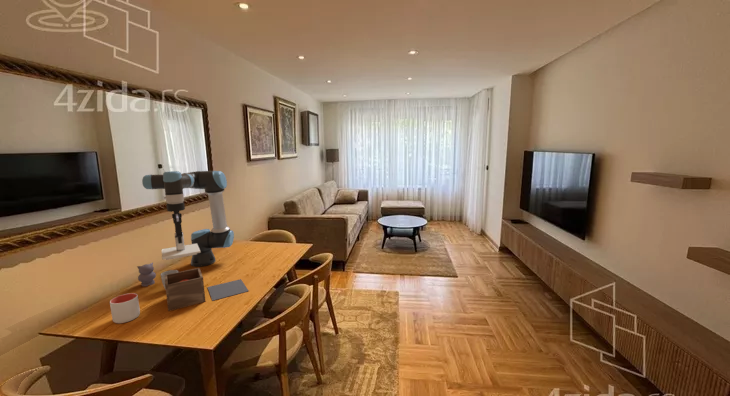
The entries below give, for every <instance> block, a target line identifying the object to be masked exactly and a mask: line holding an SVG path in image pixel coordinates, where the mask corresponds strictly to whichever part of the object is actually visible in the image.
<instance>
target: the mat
mask: <svg viewBox="0 0 730 396" xmlns="http://www.w3.org/2000/svg"><path fill="white" fill-rule="evenodd" d="M206 288H207V290H208V293H209V295H210V297H211V298H210V299H211V301H212V302H213V301H217V300H221V299H225V298H230V297H232V296H236V295H240V294H244V293H247V292H250V290H249V289H248V288H247V286H246V285H245V283H244V282H243V279H241V278H240V279H236V280H231V281H227V282H224V283H219V284H214V285H210V286H207V287H206Z"/></svg>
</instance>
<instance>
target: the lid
mask: <svg viewBox="0 0 730 396" xmlns="http://www.w3.org/2000/svg"><path fill="white" fill-rule="evenodd" d="M182 234H183V235H184V232H183V231H182ZM175 236H176V232H175V233H174V240H175V246H172V247H168V248H167V247H166V248H162V249H161V259H162V260H163V261H164V260H165V261H167V260H174V259H178V258H179V259H180V258H184V257H190V256H192V255H196V254H197V253H201V252H200V249H199V247H198V244H197V243H196V244H192V243H191V244H185V238H184V236H183V244H184V249H180V250H178V249H177V240H176V238H175Z"/></svg>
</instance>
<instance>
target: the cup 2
mask: <svg viewBox="0 0 730 396" xmlns="http://www.w3.org/2000/svg"><path fill="white" fill-rule="evenodd" d="M177 272H179V270H177V269H169V270H165V271H162V272H161V273H160V278H161V279H160V280H161V283H162V285H163V288H164V290H165V291H166V288H165V275H167V274H172V273H177Z"/></svg>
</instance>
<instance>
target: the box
mask: <svg viewBox="0 0 730 396" xmlns="http://www.w3.org/2000/svg"><path fill="white" fill-rule="evenodd" d="M186 279H187V280H186ZM182 280H186V281H182ZM180 281H182V282H180ZM165 288H166V290H165V294H166V295H165V297H166V304H167V311H168V312H171V311H174V310H179V309H182V308H187V307H190V306H193V305H198V304H201V303H204V302H206V294H205V291H206V290H205V283H204V277H203V274H202V271H201V268H200V267H197V268H196V267H195V268H192V269H187V270H183V271H178V272H177V273H172V274H167V275H165ZM165 288H164V289H165Z"/></svg>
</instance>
